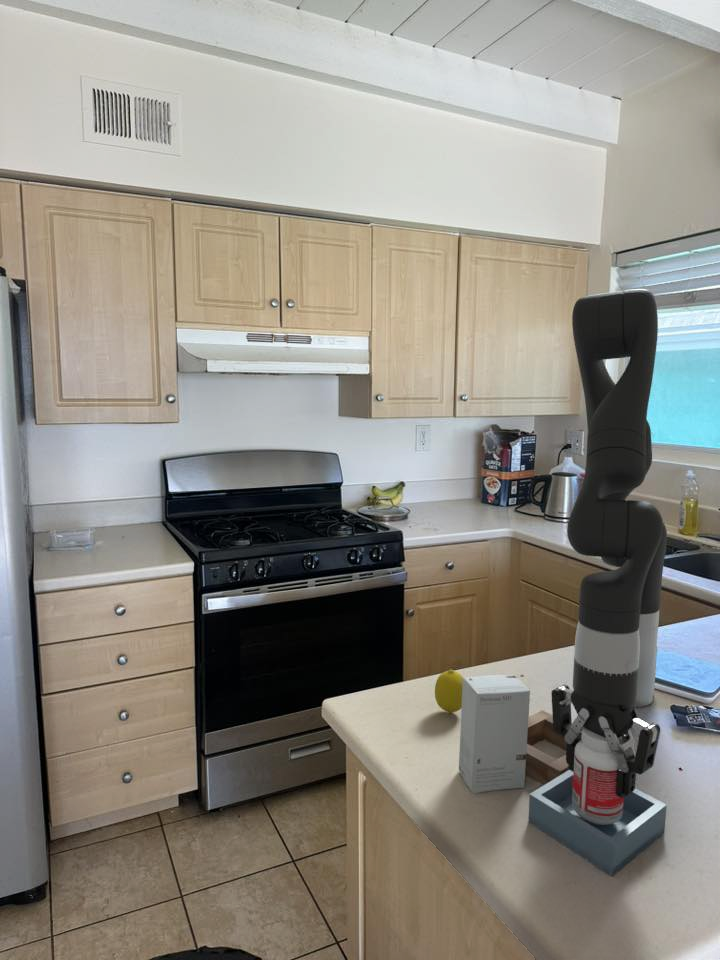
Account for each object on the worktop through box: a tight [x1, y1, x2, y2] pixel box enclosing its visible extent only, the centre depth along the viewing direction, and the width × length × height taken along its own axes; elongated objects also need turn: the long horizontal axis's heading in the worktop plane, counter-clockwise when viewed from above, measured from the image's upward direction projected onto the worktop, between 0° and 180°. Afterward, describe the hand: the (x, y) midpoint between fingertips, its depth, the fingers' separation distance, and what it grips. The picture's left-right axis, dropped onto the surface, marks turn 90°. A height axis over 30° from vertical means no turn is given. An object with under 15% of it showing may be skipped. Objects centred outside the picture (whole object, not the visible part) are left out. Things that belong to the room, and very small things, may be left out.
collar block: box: [525, 710, 582, 786], centre depth 99 cm, size 12×12×4 cm
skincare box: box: [458, 674, 531, 794], centre depth 93 cm, size 8×6×15 cm
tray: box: [528, 770, 668, 877], centre depth 84 cm, size 12×12×4 cm
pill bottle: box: [572, 727, 624, 825], centre depth 83 cm, size 6×6×11 cm
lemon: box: [434, 669, 464, 715], centre depth 112 cm, size 6×6×8 cm
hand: (598, 780), depth 83 cm, fingers open, 6 cm apart
